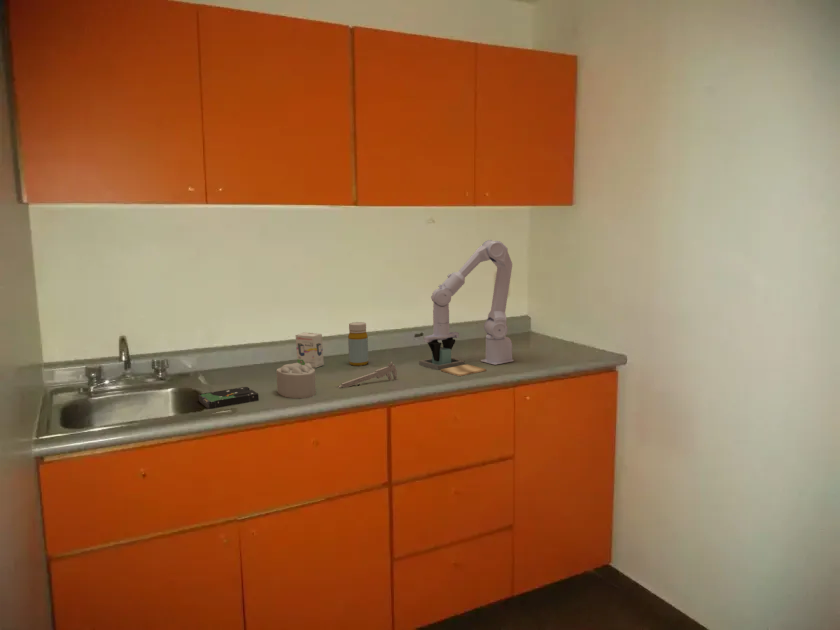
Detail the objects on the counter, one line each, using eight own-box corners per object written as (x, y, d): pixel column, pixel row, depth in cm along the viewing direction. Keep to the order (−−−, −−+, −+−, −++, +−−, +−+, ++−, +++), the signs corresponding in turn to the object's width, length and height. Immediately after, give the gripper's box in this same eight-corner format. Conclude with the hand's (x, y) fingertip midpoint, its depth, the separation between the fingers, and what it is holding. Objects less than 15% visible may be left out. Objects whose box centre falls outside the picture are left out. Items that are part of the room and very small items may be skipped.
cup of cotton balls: (304, 386, 206) (303, 359, 204) (323, 394, 195) (322, 366, 194) (273, 391, 200) (272, 364, 198) (291, 400, 189) (290, 371, 188)
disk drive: (247, 395, 198) (198, 402, 190) (246, 386, 198) (197, 393, 189) (259, 402, 190) (208, 410, 181) (259, 393, 189) (208, 401, 181)
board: (467, 365, 230) (467, 364, 230) (486, 370, 222) (486, 369, 222) (440, 370, 223) (440, 369, 223) (459, 376, 215) (459, 374, 215)
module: (440, 362, 235) (440, 346, 235) (451, 365, 231) (451, 349, 230) (432, 364, 233) (431, 348, 232) (442, 367, 228) (442, 350, 227)
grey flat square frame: (445, 360, 240) (445, 356, 240) (464, 365, 231) (464, 361, 231) (419, 364, 233) (419, 360, 233) (438, 370, 224) (438, 365, 224)
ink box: (324, 365, 234) (323, 333, 233) (315, 368, 230) (314, 335, 228) (304, 363, 238) (303, 331, 236) (296, 366, 233) (294, 334, 232)
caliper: (395, 379, 213) (394, 361, 212) (396, 380, 212) (396, 361, 211) (337, 388, 203) (337, 369, 202) (339, 389, 202) (338, 369, 201)
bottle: (354, 367, 231) (353, 325, 229) (345, 363, 237) (344, 323, 234) (371, 364, 235) (370, 323, 232) (362, 361, 240) (361, 321, 238)
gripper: (449, 319, 237) (450, 355, 239) (418, 323, 229) (418, 360, 231) (462, 321, 231) (462, 358, 233) (430, 325, 223) (430, 364, 225)
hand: (441, 359), depth 232 cm, fingers closed on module, 4 cm apart
